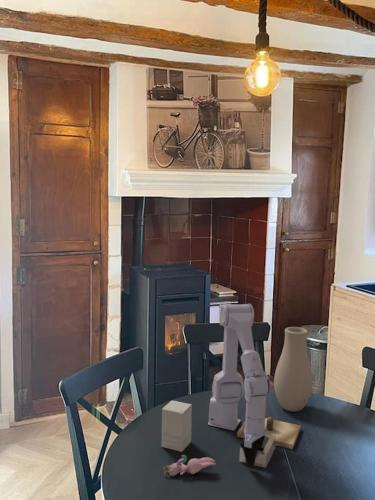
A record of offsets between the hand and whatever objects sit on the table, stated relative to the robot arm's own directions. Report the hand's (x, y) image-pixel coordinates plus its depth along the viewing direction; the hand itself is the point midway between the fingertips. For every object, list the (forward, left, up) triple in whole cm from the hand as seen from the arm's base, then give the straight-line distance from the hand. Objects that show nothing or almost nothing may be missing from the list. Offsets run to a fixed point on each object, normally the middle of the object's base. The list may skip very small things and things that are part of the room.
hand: (253, 459), depth 151 cm
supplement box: (-25, 0, -2) cm, 25 cm away
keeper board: (0, +20, -1) cm, 20 cm away
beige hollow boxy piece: (0, +5, -1) cm, 5 cm away
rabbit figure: (-15, -12, -2) cm, 20 cm away
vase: (+3, +42, -2) cm, 42 cm away
